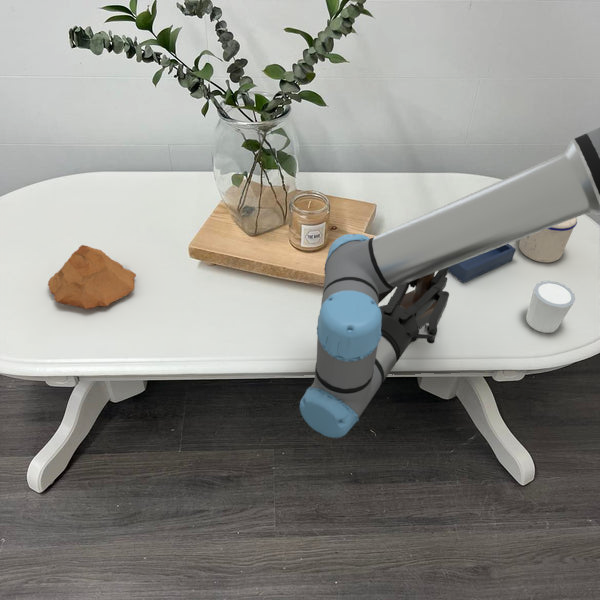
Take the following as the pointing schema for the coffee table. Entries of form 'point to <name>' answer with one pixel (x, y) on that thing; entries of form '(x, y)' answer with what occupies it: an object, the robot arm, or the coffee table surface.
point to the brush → (416, 294)
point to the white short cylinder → (549, 306)
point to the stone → (91, 280)
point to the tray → (482, 263)
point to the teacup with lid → (548, 242)
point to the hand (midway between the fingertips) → (437, 264)
